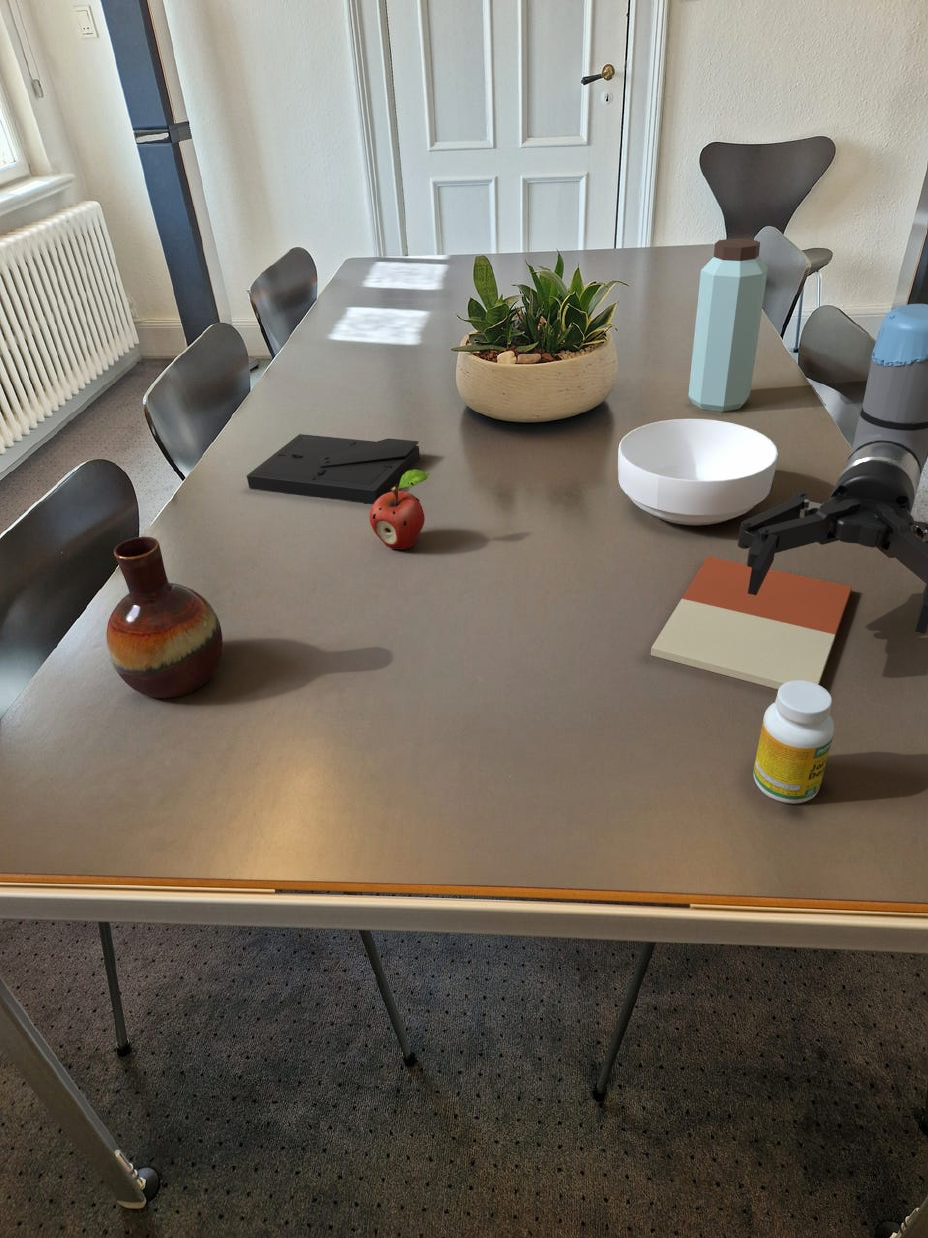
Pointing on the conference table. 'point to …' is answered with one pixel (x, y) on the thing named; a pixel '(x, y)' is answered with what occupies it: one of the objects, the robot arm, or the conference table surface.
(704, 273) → the water bottle
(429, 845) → the conference table surface
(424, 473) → the apple
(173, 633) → the vase
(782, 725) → the supplement bottle
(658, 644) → the sorting mat
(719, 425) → the bowl
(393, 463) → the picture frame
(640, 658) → the conference table surface
